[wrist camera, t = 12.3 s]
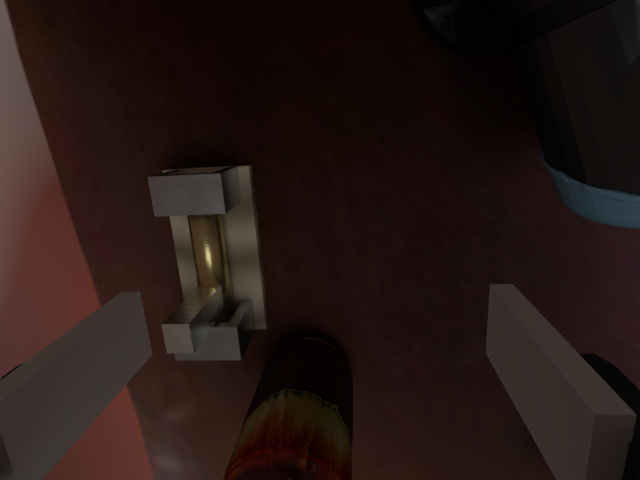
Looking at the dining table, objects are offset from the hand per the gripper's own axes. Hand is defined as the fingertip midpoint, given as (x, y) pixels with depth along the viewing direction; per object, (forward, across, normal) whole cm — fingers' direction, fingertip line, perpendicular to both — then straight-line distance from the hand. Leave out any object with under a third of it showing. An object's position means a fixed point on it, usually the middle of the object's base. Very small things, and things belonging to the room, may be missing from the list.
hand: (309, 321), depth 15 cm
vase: (+32, -5, -23) cm, 40 cm away
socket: (+30, -15, -15) cm, 37 cm away
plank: (+32, -15, -7) cm, 36 cm away
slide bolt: (+30, -15, -7) cm, 34 cm away
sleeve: (+31, -15, +1) cm, 34 cm away
